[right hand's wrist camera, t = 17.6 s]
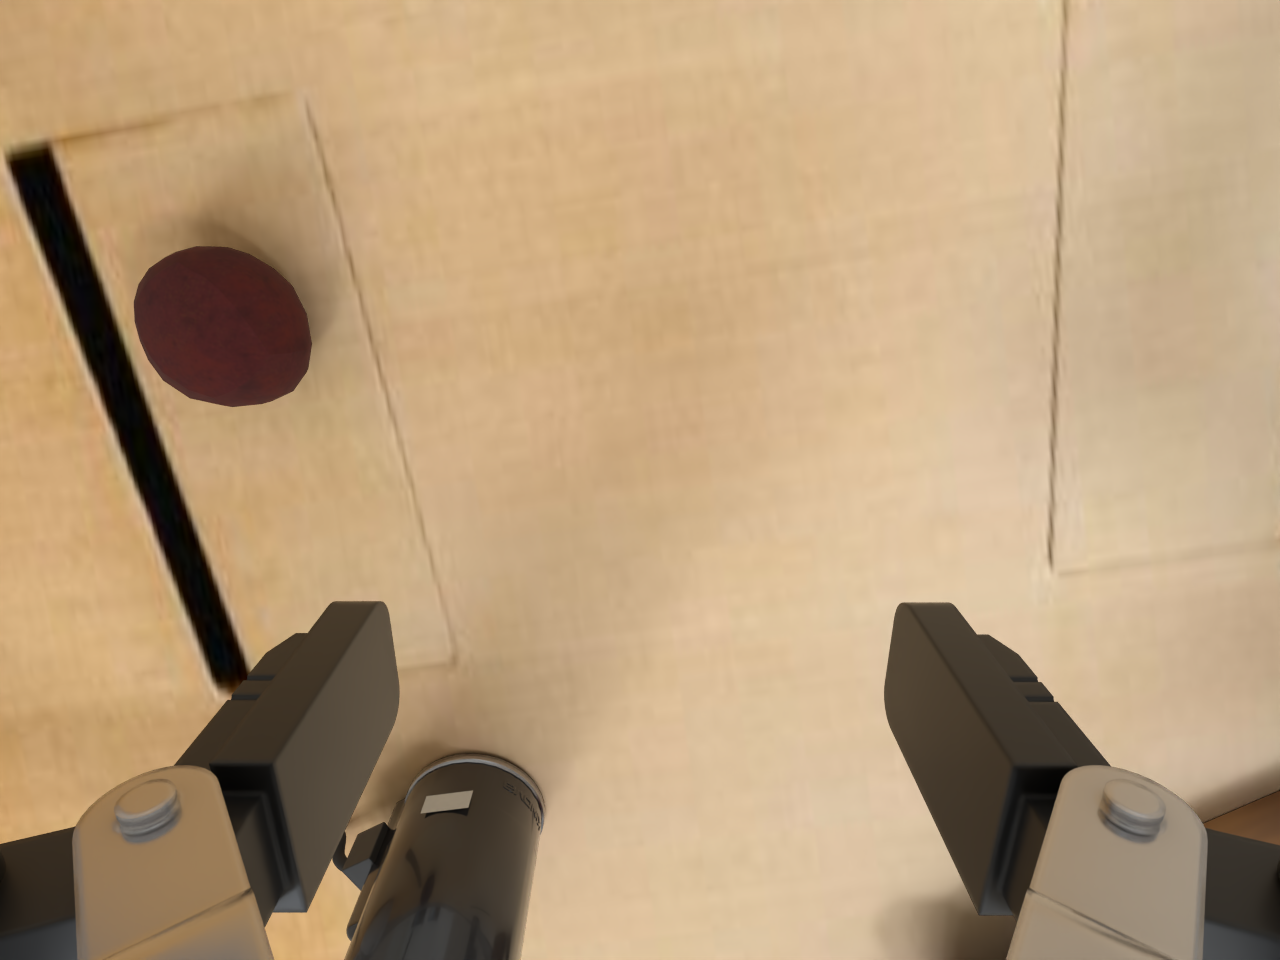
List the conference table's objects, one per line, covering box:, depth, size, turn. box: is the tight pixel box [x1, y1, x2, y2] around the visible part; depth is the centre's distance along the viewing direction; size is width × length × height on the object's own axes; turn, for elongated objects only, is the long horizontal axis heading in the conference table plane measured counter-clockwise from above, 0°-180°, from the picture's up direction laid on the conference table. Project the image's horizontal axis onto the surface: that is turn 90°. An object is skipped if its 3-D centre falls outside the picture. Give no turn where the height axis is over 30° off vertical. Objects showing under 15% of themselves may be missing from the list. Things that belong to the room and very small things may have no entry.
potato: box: [134, 246, 312, 407], centre depth 35 cm, size 7×8×7 cm
